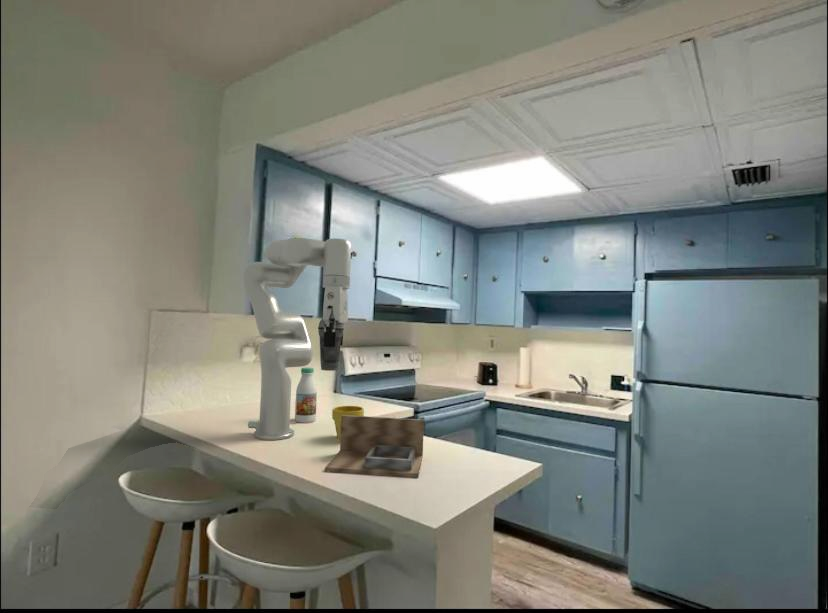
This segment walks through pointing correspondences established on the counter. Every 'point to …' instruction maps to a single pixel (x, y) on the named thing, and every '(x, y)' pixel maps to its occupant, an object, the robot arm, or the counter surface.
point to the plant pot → (344, 410)
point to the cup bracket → (379, 446)
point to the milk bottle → (306, 397)
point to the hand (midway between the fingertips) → (333, 345)
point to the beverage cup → (330, 348)
